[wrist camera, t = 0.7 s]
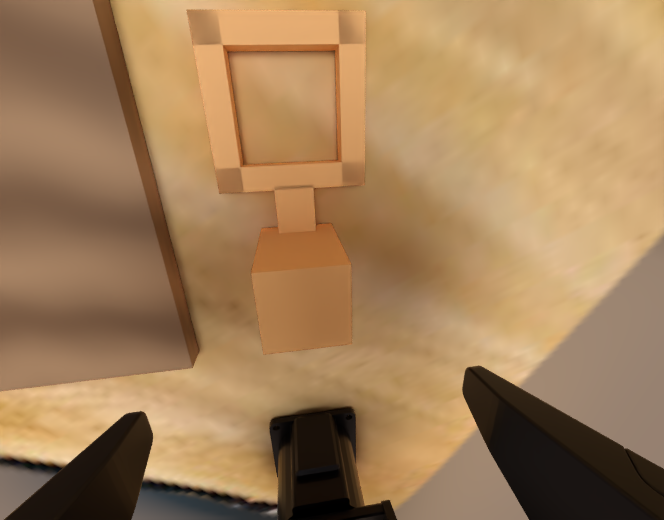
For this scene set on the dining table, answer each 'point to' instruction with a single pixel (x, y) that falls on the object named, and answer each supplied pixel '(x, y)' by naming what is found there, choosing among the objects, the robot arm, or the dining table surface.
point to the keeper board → (79, 208)
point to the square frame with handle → (289, 169)
